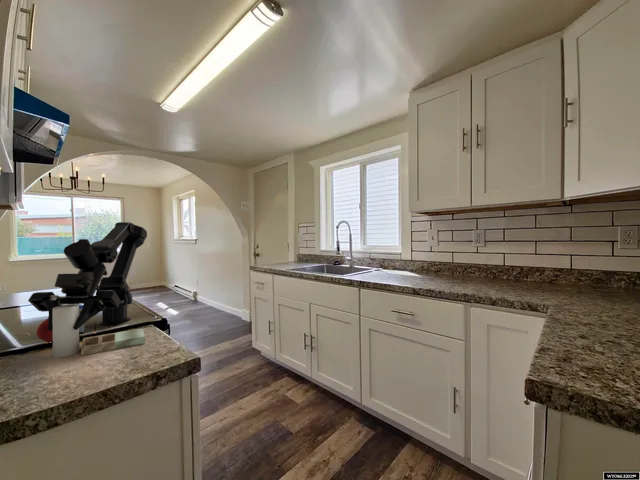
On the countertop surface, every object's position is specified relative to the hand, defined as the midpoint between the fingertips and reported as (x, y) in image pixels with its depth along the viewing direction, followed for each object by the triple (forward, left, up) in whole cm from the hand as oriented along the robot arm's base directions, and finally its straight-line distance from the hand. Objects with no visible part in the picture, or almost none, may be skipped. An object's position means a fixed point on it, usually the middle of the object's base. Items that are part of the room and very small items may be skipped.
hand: (62, 329), depth 69 cm
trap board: (-9, +6, -7) cm, 12 cm away
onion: (-6, -12, -7) cm, 15 cm away
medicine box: (-14, -16, -7) cm, 22 cm away
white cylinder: (-1, -1, -7) cm, 7 cm away
